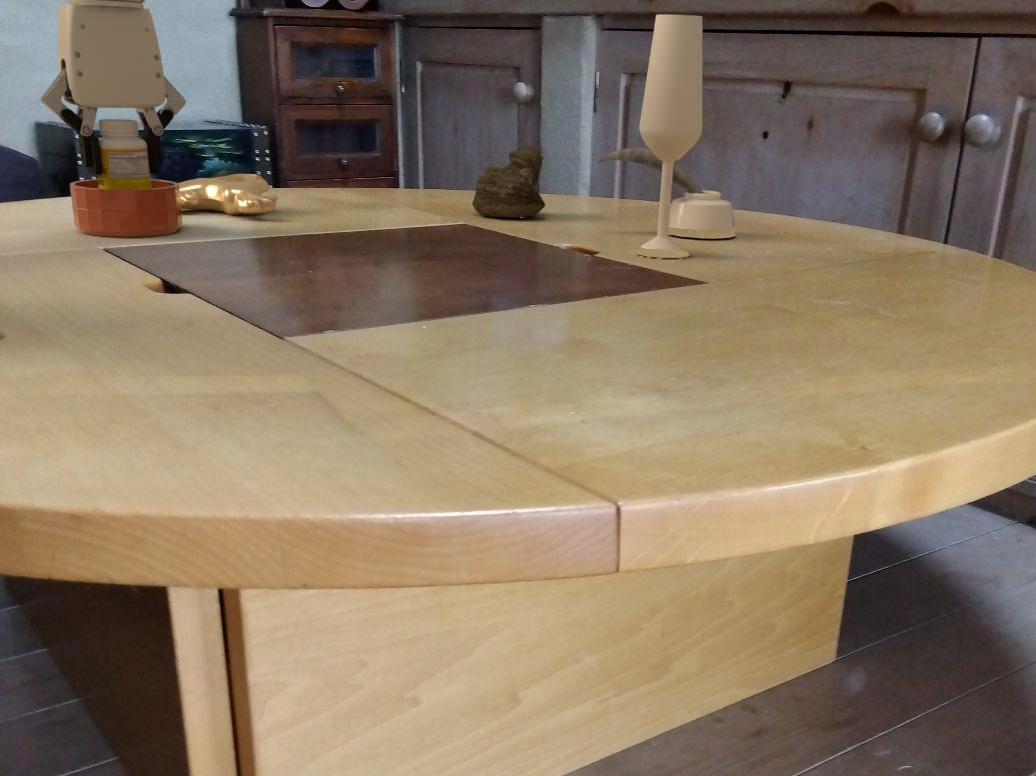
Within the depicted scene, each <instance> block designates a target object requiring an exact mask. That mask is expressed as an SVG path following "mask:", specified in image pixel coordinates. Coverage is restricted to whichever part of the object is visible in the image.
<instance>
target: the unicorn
mask: <svg viewBox="0 0 1036 776" xmlns="http://www.w3.org/2000/svg"><path fill="white" fill-rule="evenodd" d="M177 183H178V184H179V190H180V201H181V210H198V211H211V210H214V211H213V212H220V211H221V212H222V213H226V214H227V215H247V214H249V215H257V214H258V215H259V214H266V213H270V212H272V211H273V210H275V209H276V207H277V202H278V200H279V198H278V195H277V194H276V193H275V194H271V195H262V194H264V193H266V192H268V191H270V185H269V184H268V182H267V180H265V179H264V178H263V176H261V175H259V174H251V173H235V174H229V175H223V176H217V177H210V178H209V177H208V178H207V177H198V178H194V179H187V180H185V181H182V182H177Z"/></svg>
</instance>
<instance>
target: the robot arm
mask: <svg viewBox="0 0 1036 776" xmlns="http://www.w3.org/2000/svg"><path fill="white" fill-rule="evenodd" d="M144 3H146V0H66V3H65V4H64V3H63V4H61V3H60V4H58V9H57V28H56V29H57V32H56V33H57V36H56V38H57V39H56V40H57V41H56V42H57V66H58V75H57V76H56V78H54V79H53V81H52V82H51V84H50V85H49V86H48V87H47V89H46V90H45V91H44V93H43V94H42V96H41V97H40V101H41V103H42V104H43V105H44V106H45V107H46V108H48V109H49V110H50V111H51V112H52V113H54V114H56V115H57V117H59V119H60V120H61V121H62V122H64V123H65V124H66V125H67V126H68V127H69V128H70V129H71V130H73V132H74V133H75V134H76V135H77V137H78V144H79V145H78V147H79V153H80V161H81V166H82V167H84V168H86V172H87V174H89V175H92V176H97V175H101V174H102V165H101V156H100V148H99V139H98V138H99V137H97V136H96V135H95V131H94V127H95V123H96V118H97V113H98V109H110V108H111V109H135V112H136V114H137V117H138V118H139V121H140V123H141V125H142V127H143V129H142V132H143V133H141V134H140V136H139V139H143V140H144V141H145V142H146V143H147V148H148V159H149V169H150V174H153V175H158V174H160V166H162V164H163V158H162V148H161V137H160V136H162V135H163V134H164V131H165V129H166V128H167V126H169V124H170V123H171V122H172V121H173V119H174V118H175V116H176V115H177V114H178V113H179V112H180V111H181V110H182V109H183V108H184V107H185V106H186V103H187V101H186V99H185V97H184V96H183V95H182V94H181V92H180V91H178V89H177V88H176V87H175V86H174V85H173V84H172V83H171V82H170V81H169V80H168V78H167V77H166V76H165V74H164V67H163V60H162V54H161V50H160V49H161V48H160V43H159V40H158V35H157V31H156V27H155V24H154V20H153V15H152V14H151V11H150V8H145V7H144ZM62 99H63V100H64V101H65V102H66V103H68V104H70V105H74V106H77V108H76V112H75V111H74V110H72V109H71V108H69V107H68V106H66V105H65V104H64V102H63V101H62ZM165 101H166V102H165ZM164 103H165V104H164ZM162 105H163V107H162V108H160V109H158V111H156V108H157V107H161V106H162Z"/></svg>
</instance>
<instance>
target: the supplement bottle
mask: <svg viewBox="0 0 1036 776" xmlns="http://www.w3.org/2000/svg"><path fill="white" fill-rule="evenodd" d="M98 131H99V135H100V136H101V137H98V139H99V148H100V156H101V165H102V174H101V175H96V176H97V179H98V186H99V189H151V179H152V178H151V173H150V169H149V159H148V148H147V143H146V142H145V141H144V140H143V139H140V138H138V137H139V135H140V134H139V133H140V132H139V127H138V121H137V120H135V119H124V118H122V119H120V118H104V119H102V118H101V119H99V120H98Z"/></svg>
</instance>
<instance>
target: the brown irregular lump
mask: <svg viewBox="0 0 1036 776" xmlns="http://www.w3.org/2000/svg"><path fill="white" fill-rule="evenodd" d="M508 160H509V164H508V165H505V166H504V167H502V166H491V167H489V168H486V169H485V170H484V171H483V175H479V177H478V179H477V181H476V186H475V194H474V197H473V200H472V202H471V206H472V207H473V208H474V210H475V212H477V214H478V215H480V216H482V217H485V216H487V217H486V218H505V219H509V218H510V219H513V218H520V217H528V218H530V217H529V216H531V217H534V215H535V216H537V215H538V214H539V213H540V212H541V211H542V210H543V209H544V208H546V203H545V201H544V199H543V197H542V196H541V194H540V192H539V191H538V190H537V189H536V186H537V184H538V182H539V178H540V173H541V170H542V166H543V160H544V156H543V154H542V151H541V149H540V147H539V146H534V145H526V146H525V147H524V148H522V149H520V150H515V151H511V152H510V153H509V154H508Z"/></svg>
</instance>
